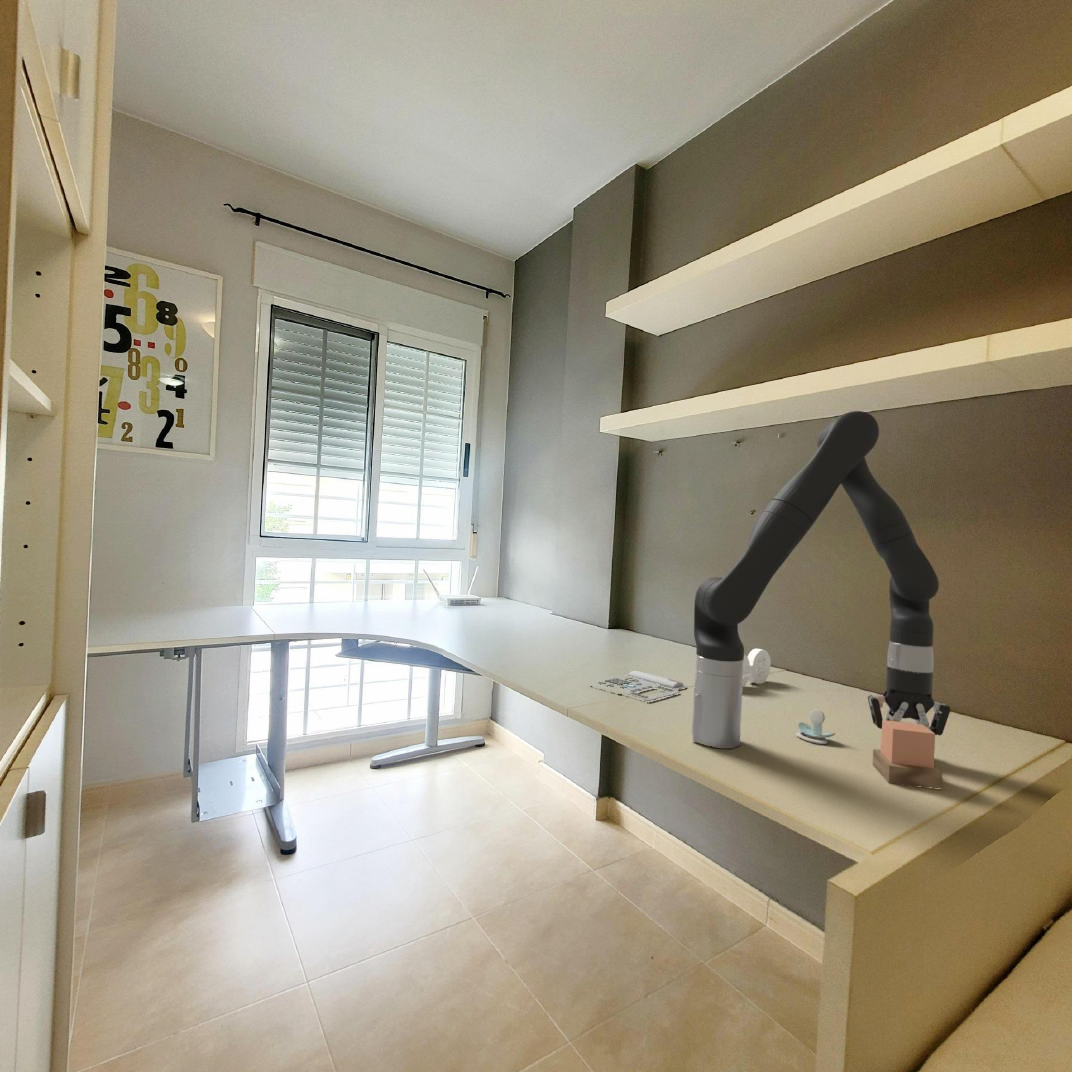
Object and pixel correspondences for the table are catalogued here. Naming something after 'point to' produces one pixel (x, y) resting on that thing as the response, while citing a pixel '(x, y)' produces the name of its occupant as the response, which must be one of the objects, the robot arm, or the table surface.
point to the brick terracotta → (908, 743)
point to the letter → (756, 666)
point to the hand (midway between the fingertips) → (905, 752)
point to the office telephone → (646, 679)
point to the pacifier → (814, 729)
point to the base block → (906, 772)
